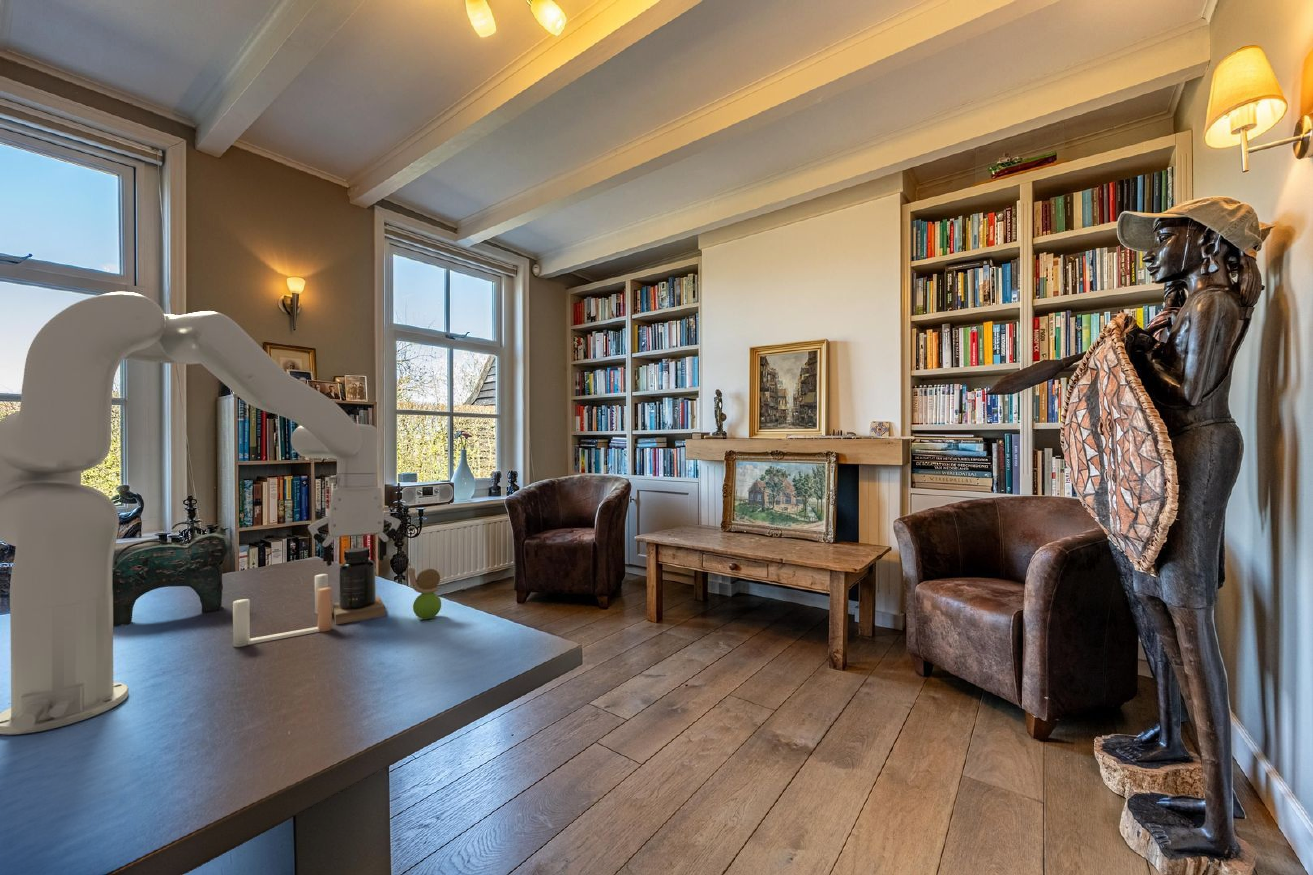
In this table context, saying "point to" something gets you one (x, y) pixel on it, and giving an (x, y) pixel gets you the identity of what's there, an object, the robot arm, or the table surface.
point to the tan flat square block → (358, 612)
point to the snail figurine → (425, 592)
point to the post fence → (324, 624)
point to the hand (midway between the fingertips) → (355, 562)
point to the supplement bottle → (357, 579)
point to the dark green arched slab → (170, 571)
